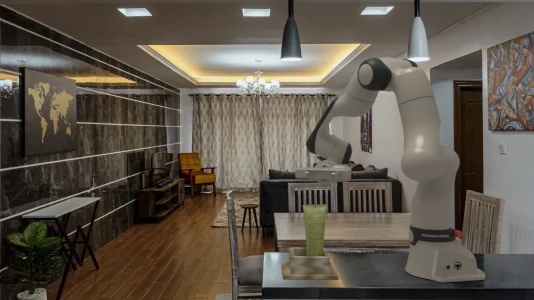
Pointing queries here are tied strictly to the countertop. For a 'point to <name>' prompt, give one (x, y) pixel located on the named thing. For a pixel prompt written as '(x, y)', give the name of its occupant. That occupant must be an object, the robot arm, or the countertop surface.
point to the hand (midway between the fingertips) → (320, 175)
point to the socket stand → (308, 266)
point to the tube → (314, 228)
